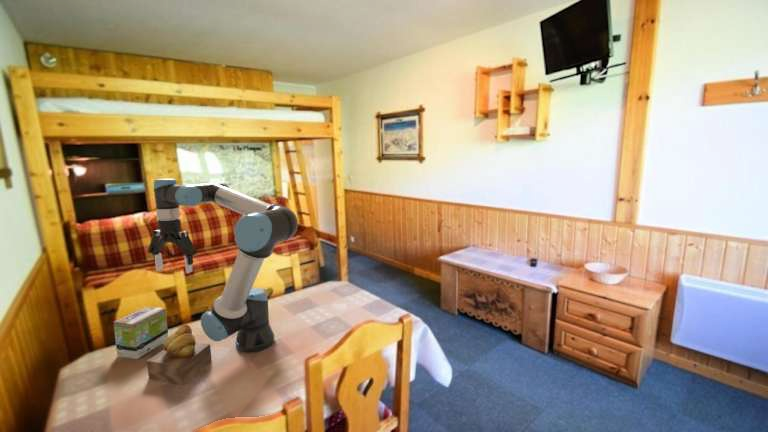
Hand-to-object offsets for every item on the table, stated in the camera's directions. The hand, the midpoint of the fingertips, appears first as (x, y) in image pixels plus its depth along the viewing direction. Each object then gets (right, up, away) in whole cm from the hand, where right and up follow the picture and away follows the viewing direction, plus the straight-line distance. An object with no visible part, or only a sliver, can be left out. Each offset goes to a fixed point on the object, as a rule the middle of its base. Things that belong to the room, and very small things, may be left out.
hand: (174, 271), depth 137 cm
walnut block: (+10, -34, -11) cm, 37 cm away
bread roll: (+10, -27, -13) cm, 32 cm away
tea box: (-14, -32, +3) cm, 35 cm away
